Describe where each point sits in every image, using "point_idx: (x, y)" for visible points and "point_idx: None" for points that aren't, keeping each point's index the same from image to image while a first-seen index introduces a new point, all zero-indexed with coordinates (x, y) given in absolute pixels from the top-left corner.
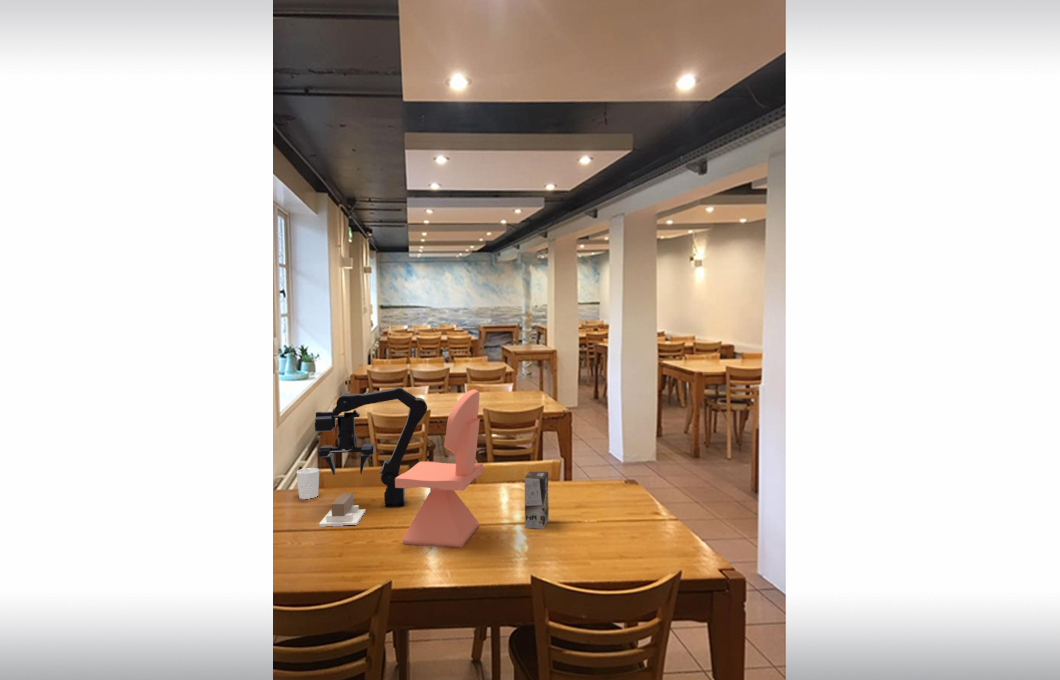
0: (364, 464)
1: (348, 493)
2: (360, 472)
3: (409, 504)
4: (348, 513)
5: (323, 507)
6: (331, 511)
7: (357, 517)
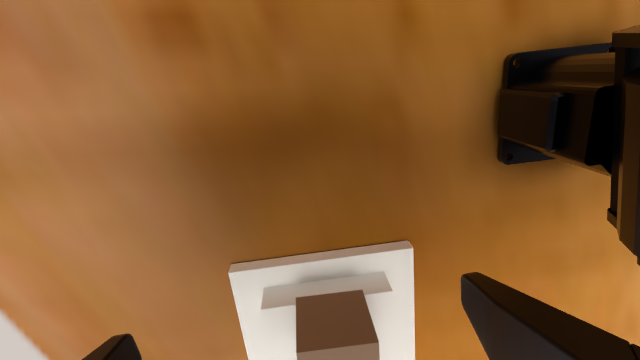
0: (613, 349)
1: (348, 349)
2: (474, 327)
3: None
4: None
5: (140, 175)
6: (244, 289)
7: (402, 351)
